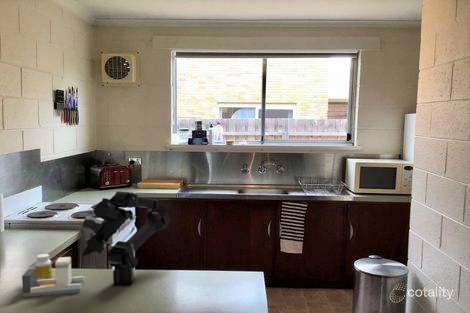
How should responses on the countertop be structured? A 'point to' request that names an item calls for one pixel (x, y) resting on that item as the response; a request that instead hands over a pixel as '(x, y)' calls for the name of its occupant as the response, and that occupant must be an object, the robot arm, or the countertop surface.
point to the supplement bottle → (43, 267)
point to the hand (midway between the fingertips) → (82, 255)
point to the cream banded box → (63, 271)
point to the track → (48, 285)
